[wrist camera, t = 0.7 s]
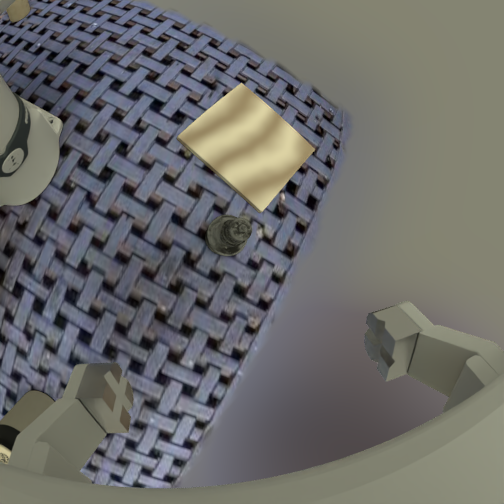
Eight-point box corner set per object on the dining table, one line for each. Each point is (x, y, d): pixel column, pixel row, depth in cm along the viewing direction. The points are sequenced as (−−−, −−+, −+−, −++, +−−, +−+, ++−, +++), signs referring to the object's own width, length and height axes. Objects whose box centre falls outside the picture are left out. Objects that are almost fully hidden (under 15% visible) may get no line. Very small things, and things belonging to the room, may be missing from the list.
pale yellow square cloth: (176, 139, 43) (177, 136, 42) (239, 86, 47) (241, 83, 46) (259, 213, 47) (262, 212, 46) (311, 151, 51) (315, 149, 50)
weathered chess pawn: (220, 210, 45) (242, 191, 34) (248, 236, 46) (278, 225, 35) (195, 239, 44) (208, 229, 32) (224, 264, 45) (248, 263, 34)
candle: (33, 6, 33) (26, -21, 23) (24, 20, 32) (15, -7, 23) (16, 10, 31) (8, -15, 21) (7, 24, 31) (-3, -1, 21)
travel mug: (28, 381, 33) (-20, 428, 16) (67, 406, 35) (35, 467, 18) (19, 413, 32) (-22, 465, 15) (56, 437, 34) (28, 499, 17)
